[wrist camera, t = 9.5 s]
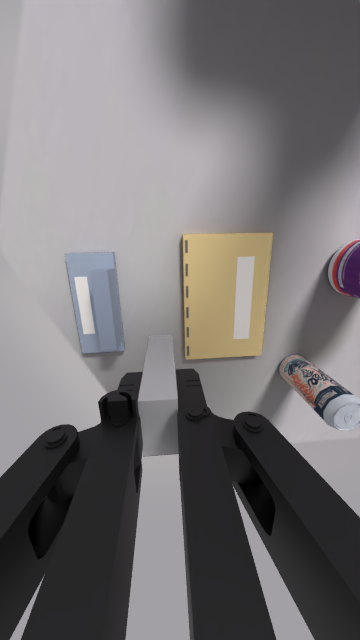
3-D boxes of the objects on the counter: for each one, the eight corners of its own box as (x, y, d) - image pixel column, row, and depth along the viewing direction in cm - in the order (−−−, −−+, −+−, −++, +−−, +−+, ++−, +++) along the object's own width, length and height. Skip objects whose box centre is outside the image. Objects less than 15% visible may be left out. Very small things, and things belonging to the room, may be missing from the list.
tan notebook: (182, 235, 29) (183, 234, 28) (268, 233, 30) (273, 232, 29) (184, 356, 35) (185, 359, 33) (258, 351, 35) (261, 355, 34)
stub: (68, 253, 29) (49, 253, 24) (114, 252, 29) (104, 252, 24) (84, 350, 33) (71, 366, 28) (124, 348, 33) (118, 364, 29)
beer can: (299, 348, 36) (362, 392, 24) (309, 369, 37) (374, 421, 26) (273, 362, 36) (323, 413, 25) (284, 383, 38) (337, 440, 26)
